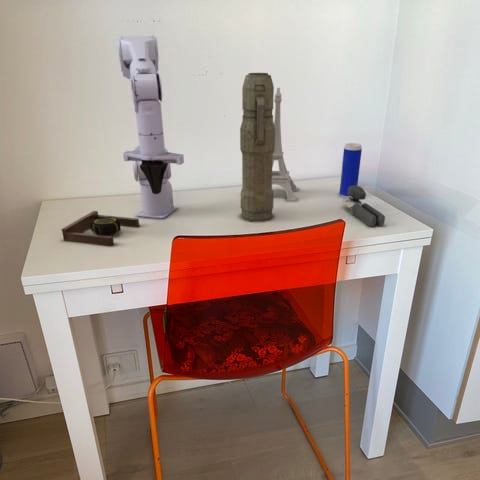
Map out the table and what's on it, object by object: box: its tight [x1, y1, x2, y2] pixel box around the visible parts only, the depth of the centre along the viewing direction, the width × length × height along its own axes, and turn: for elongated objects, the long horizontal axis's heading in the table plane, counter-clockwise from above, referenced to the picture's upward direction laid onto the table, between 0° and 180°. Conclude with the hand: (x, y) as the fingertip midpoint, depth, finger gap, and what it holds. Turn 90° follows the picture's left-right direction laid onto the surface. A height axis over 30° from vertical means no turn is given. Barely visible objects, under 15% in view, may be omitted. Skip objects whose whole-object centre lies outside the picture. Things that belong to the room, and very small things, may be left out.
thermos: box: [239, 72, 275, 223], centre depth 120 cm, size 9×12×35 cm
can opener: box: [340, 185, 386, 228], centre depth 128 cm, size 19×5×6 cm, turn 13°
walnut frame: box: [61, 210, 140, 247], centre depth 119 cm, size 14×13×3 cm
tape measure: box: [89, 217, 122, 236], centre depth 118 cm, size 7×7×4 cm
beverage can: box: [339, 142, 363, 198], centre depth 141 cm, size 5×5×15 cm
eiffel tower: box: [272, 87, 298, 202], centre depth 140 cm, size 13×13×30 cm
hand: (156, 192), depth 114 cm, fingers closed
